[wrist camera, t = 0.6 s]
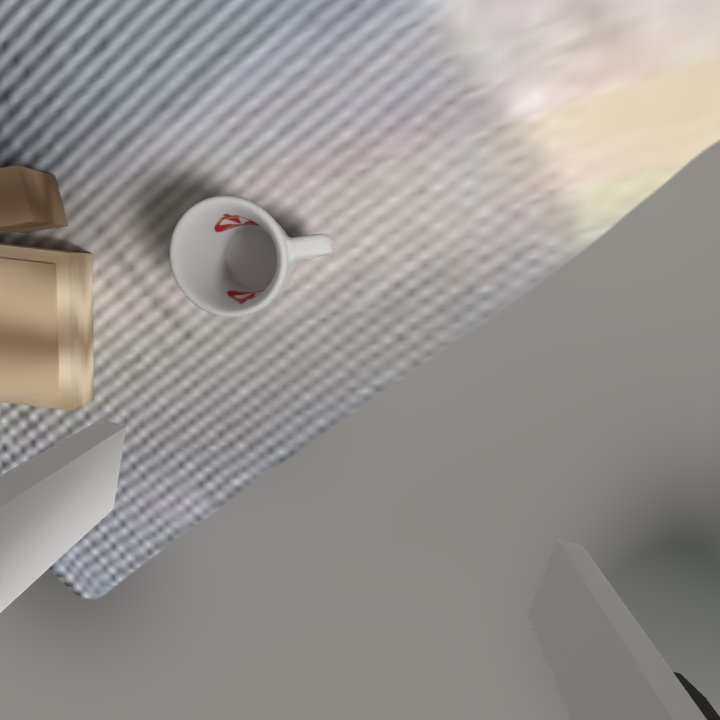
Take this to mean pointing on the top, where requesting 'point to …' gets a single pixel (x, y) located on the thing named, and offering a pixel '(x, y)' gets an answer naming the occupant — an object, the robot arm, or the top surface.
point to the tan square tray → (46, 327)
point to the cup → (236, 255)
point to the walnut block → (29, 200)
